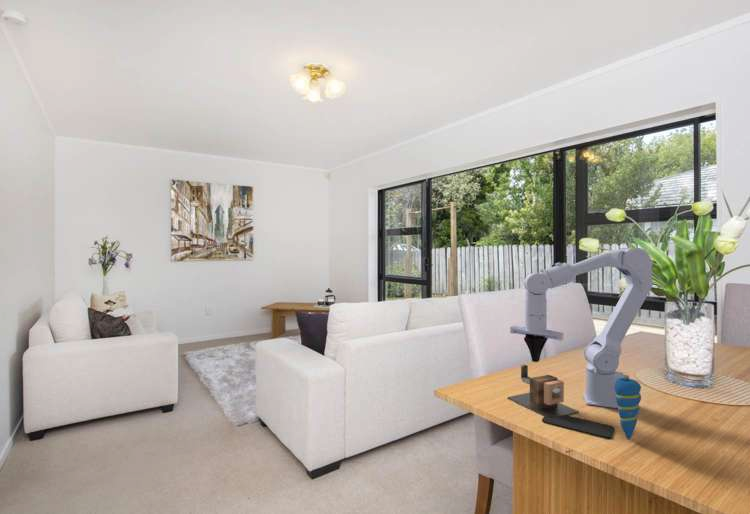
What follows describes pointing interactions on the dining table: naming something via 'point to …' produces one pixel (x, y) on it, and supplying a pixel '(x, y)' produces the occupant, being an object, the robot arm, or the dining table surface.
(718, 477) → the dining table surface
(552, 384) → the collar
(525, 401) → the base plate
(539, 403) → the bearing block
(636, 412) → the ornament
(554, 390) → the crank handle
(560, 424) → the phone
